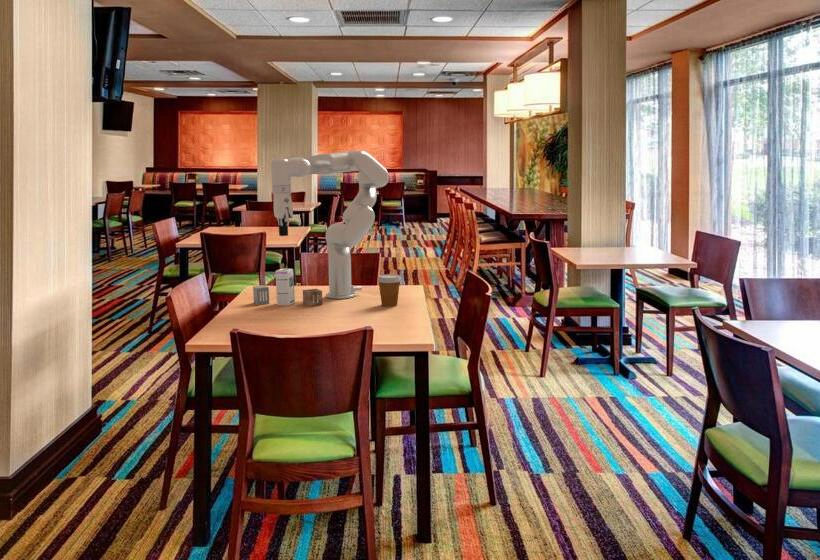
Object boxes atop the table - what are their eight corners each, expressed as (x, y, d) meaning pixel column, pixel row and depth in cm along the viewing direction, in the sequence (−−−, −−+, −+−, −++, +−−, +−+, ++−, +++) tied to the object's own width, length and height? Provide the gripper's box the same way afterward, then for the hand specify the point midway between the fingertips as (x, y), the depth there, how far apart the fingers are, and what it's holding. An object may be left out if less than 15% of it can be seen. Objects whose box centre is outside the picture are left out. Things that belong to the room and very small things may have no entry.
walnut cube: (316, 302, 300) (316, 288, 299) (322, 305, 295) (322, 291, 294) (303, 304, 297) (302, 290, 296) (309, 307, 292) (308, 292, 291)
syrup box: (290, 305, 294) (288, 270, 292) (276, 305, 296) (275, 270, 293) (295, 303, 300) (293, 268, 297) (281, 302, 301) (280, 268, 299)
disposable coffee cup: (398, 307, 288) (398, 278, 286) (375, 307, 290) (374, 277, 288) (403, 303, 297) (403, 274, 295) (380, 302, 299) (380, 273, 297)
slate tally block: (265, 301, 303) (264, 285, 302) (269, 304, 299) (268, 287, 297) (253, 303, 301) (253, 286, 300) (257, 305, 296) (257, 288, 295)
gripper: (297, 190, 285) (299, 236, 289) (284, 189, 298) (285, 233, 301) (279, 191, 282) (281, 238, 285) (266, 189, 295) (268, 234, 298)
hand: (283, 235), depth 293 cm, fingers closed
